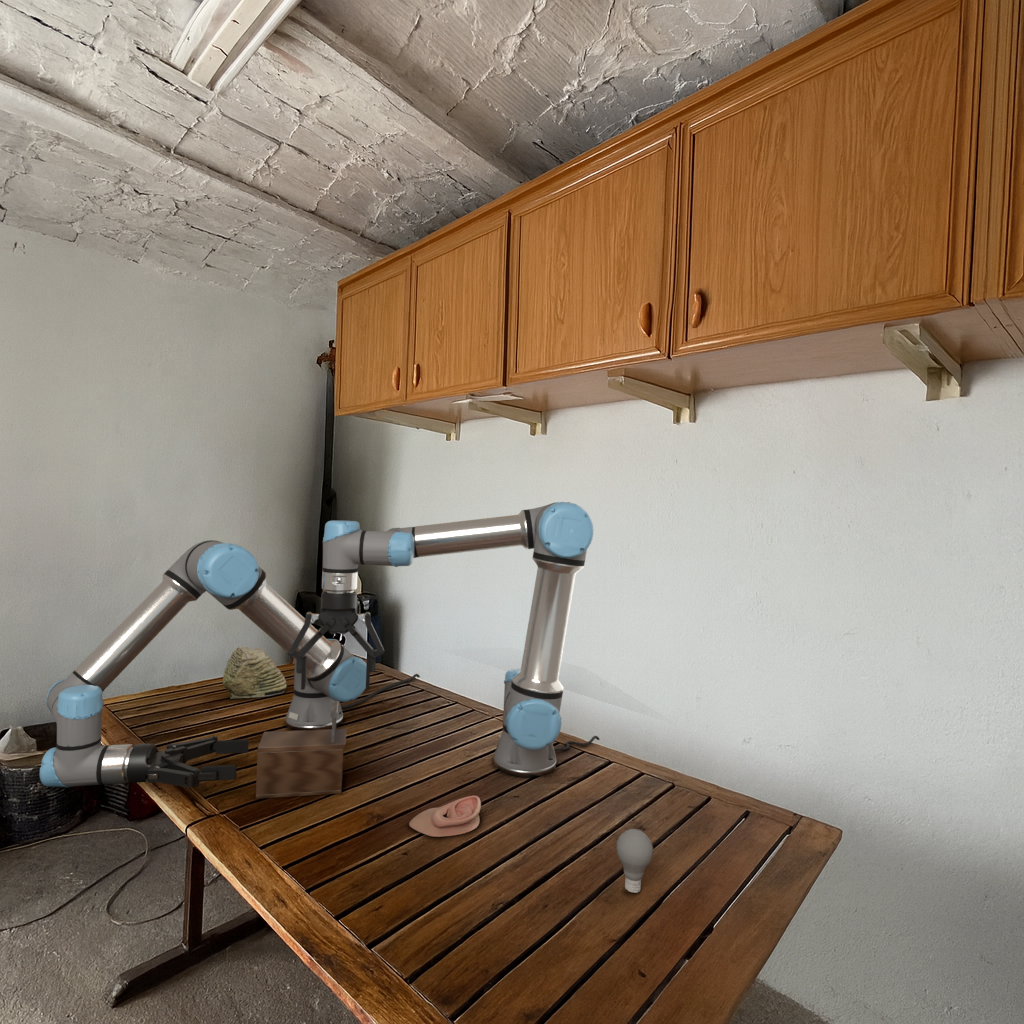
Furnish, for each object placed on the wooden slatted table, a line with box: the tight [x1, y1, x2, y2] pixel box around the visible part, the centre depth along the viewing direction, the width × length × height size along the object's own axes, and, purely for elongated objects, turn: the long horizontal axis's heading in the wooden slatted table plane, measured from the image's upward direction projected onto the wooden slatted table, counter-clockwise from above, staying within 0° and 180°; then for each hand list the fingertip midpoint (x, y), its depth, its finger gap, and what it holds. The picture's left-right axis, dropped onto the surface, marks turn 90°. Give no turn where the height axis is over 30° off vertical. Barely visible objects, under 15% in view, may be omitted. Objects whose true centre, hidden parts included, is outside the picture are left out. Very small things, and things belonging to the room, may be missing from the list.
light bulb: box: [615, 828, 654, 894], centre depth 106 cm, size 6×6×10 cm
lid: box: [257, 700, 347, 753], centre depth 138 cm, size 18×9×8 cm, turn 103°
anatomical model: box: [408, 795, 482, 838], centre depth 125 cm, size 13×4×12 cm
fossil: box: [222, 646, 288, 699], centre depth 198 cm, size 9×18×15 cm, turn 132°
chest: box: [255, 749, 345, 800], centre depth 138 cm, size 17×9×10 cm, turn 103°
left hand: (242, 758), depth 135 cm, fingers open, 13 cm apart
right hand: (335, 687), depth 139 cm, fingers open, 13 cm apart
